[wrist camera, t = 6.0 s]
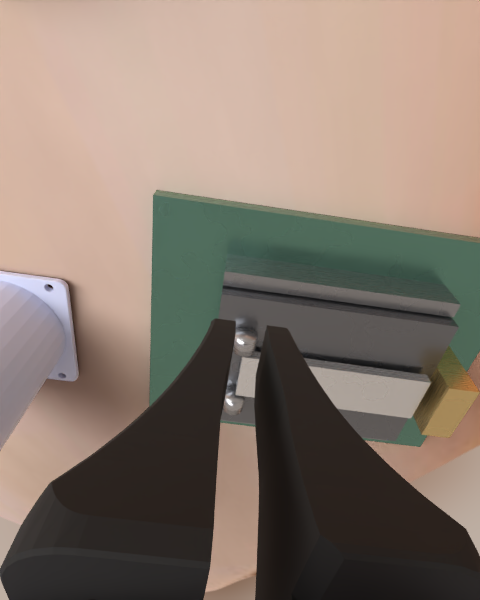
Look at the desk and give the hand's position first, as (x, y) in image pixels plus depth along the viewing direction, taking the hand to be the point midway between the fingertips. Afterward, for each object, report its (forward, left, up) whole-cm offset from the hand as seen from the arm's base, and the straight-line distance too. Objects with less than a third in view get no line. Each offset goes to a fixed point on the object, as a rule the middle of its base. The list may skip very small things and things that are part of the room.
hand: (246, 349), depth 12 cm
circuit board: (+5, -7, -10) cm, 13 cm away
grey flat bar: (+6, -7, -7) cm, 11 cm away
